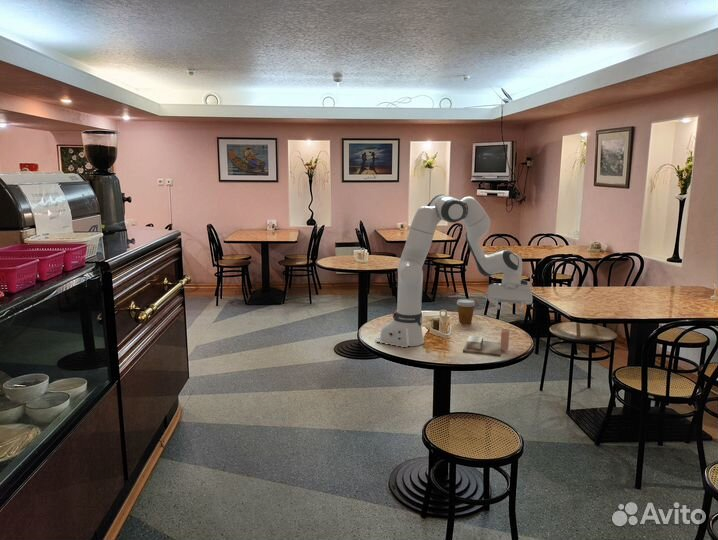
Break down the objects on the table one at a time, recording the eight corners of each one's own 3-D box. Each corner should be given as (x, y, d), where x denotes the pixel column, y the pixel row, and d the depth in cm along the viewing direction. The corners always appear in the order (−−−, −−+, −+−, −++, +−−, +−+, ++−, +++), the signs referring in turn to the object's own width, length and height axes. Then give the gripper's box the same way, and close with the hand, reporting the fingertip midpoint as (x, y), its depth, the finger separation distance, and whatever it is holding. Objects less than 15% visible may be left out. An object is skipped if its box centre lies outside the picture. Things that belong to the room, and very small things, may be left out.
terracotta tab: (500, 349, 224) (501, 331, 223) (501, 345, 229) (502, 328, 227) (507, 350, 223) (508, 332, 222) (508, 346, 228) (509, 329, 226)
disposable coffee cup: (478, 324, 267) (479, 302, 264) (462, 326, 263) (463, 303, 261) (467, 319, 275) (468, 298, 273) (452, 321, 272) (453, 299, 270)
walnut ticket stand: (462, 352, 225) (463, 343, 224) (468, 341, 240) (468, 333, 239) (500, 356, 219) (500, 347, 219) (503, 345, 234) (503, 336, 233)
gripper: (488, 279, 244) (485, 304, 237) (533, 282, 237) (531, 308, 230) (489, 286, 249) (485, 311, 241) (533, 289, 242) (531, 315, 234)
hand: (508, 309), depth 235 cm, fingers open, 8 cm apart
